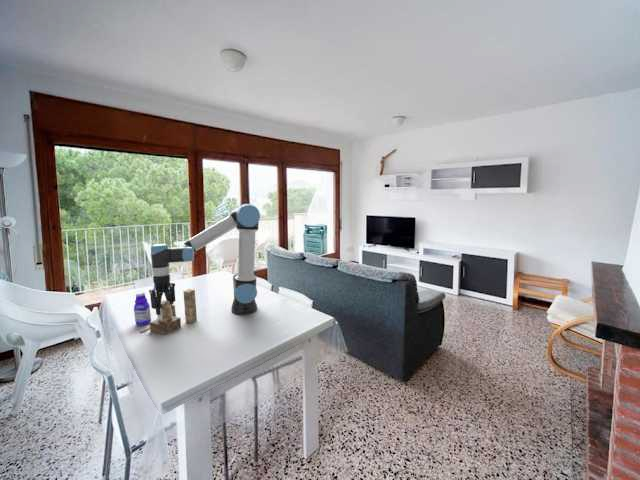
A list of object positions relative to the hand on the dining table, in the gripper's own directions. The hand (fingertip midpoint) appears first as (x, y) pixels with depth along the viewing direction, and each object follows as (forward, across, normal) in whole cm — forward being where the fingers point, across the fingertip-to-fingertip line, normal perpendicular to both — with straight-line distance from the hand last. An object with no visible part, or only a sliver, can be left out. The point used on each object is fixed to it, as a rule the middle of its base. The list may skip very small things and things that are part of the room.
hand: (165, 317), depth 148 cm
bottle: (+6, 0, -17) cm, 19 cm away
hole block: (+6, 0, 0) cm, 6 cm away
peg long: (+6, -12, +5) cm, 14 cm away
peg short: (+6, -12, -11) cm, 17 cm away
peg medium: (+6, 0, 0) cm, 6 cm away
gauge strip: (+6, 0, -8) cm, 11 cm away
